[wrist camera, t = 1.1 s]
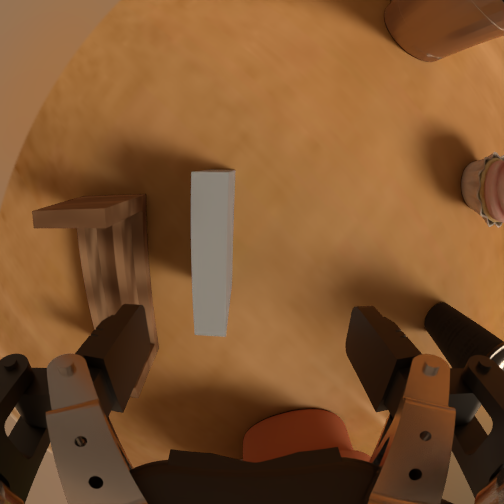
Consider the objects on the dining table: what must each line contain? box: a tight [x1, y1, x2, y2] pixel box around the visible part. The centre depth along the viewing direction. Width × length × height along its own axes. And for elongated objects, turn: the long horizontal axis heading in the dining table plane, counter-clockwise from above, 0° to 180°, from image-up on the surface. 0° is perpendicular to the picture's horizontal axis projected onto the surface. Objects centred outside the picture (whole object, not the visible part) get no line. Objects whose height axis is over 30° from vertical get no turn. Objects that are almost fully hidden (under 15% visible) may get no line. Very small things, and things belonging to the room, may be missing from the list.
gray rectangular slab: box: [191, 170, 235, 337], centre depth 24 cm, size 12×2×10 cm, turn 177°
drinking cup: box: [424, 303, 504, 371], centre depth 23 cm, size 8×8×20 cm
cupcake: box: [461, 152, 504, 227], centre depth 22 cm, size 9×9×10 cm
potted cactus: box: [243, 409, 371, 463], centre depth 27 cm, size 22×22×25 cm
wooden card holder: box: [32, 194, 159, 398], centre depth 25 cm, size 19×8×9 cm, turn 177°
